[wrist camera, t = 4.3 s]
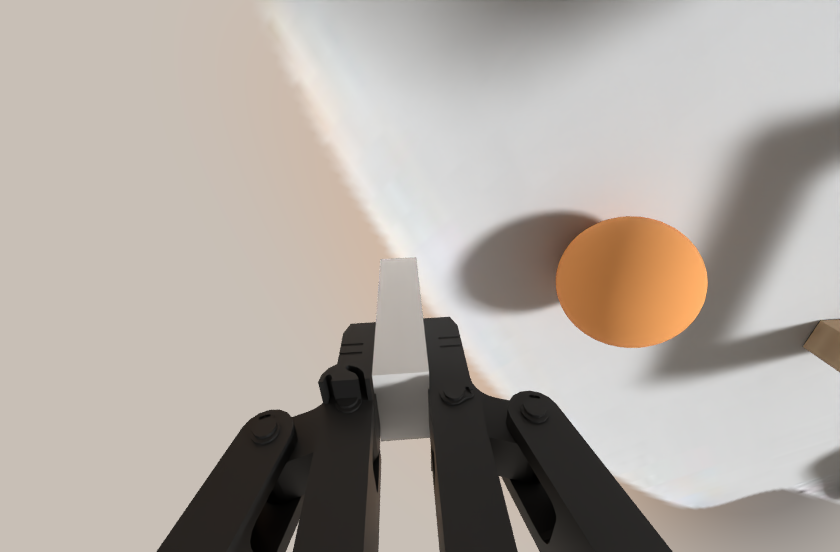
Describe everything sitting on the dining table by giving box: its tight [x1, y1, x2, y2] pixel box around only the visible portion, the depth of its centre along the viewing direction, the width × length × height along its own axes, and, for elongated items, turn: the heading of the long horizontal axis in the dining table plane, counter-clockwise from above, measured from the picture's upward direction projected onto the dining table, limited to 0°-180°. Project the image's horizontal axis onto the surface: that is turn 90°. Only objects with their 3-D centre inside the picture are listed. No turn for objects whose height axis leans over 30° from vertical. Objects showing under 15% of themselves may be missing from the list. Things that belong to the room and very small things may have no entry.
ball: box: [556, 216, 708, 348], centre depth 15 cm, size 6×6×6 cm
